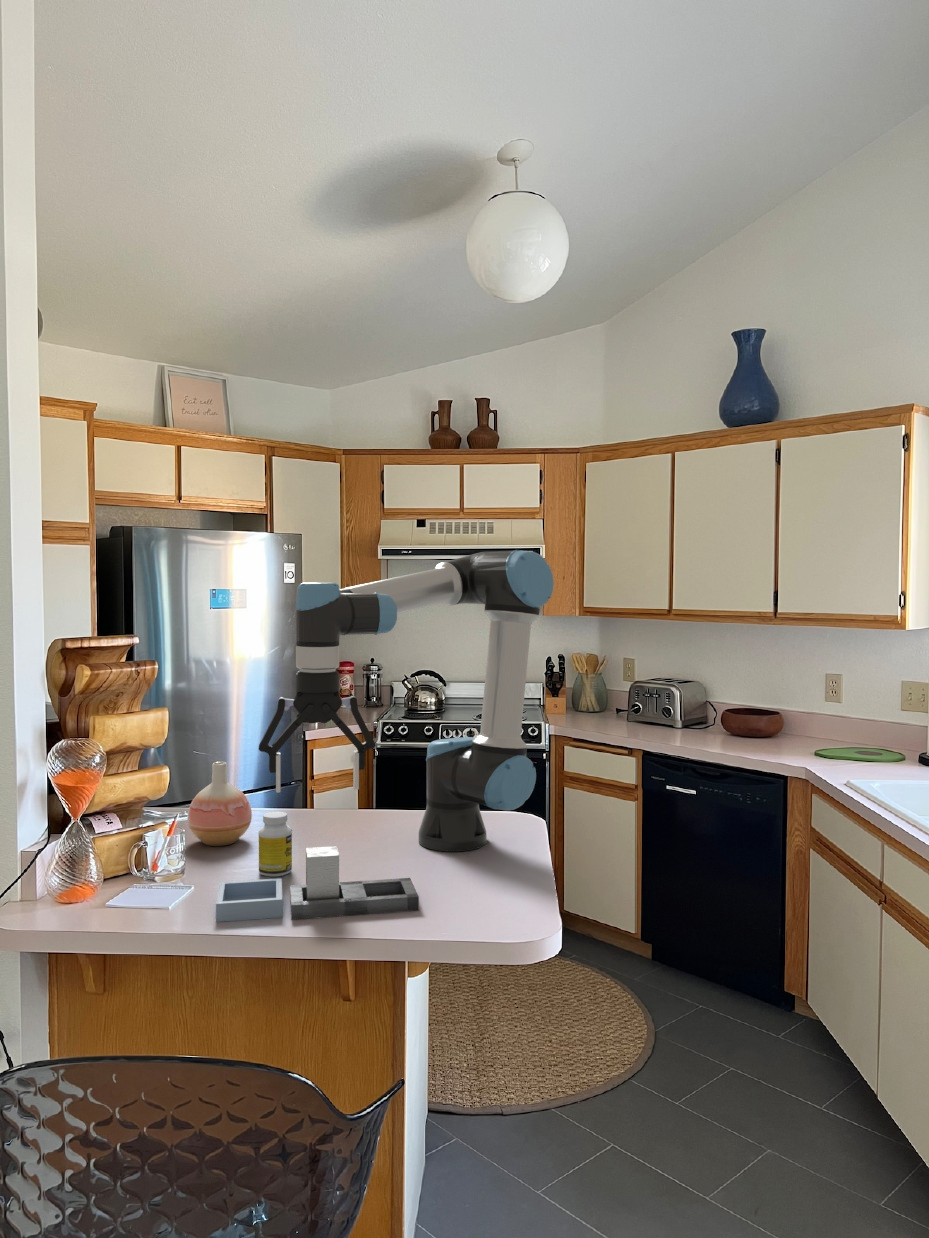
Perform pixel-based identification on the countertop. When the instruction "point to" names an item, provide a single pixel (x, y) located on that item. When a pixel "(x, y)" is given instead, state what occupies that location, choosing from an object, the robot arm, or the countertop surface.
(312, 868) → the white block
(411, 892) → the grey slotted holder
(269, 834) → the pill bottle
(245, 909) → the tray
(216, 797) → the vase
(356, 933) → the countertop surface
